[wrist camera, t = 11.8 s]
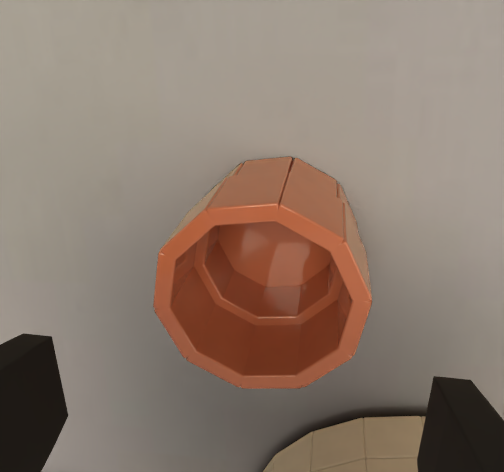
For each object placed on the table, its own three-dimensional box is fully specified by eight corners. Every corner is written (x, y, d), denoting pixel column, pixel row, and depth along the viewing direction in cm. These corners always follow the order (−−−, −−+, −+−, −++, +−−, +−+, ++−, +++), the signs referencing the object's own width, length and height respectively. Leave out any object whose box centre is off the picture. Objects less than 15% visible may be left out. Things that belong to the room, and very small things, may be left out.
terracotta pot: (244, 319, 17) (216, 411, 13) (171, 188, 16) (113, 248, 12) (384, 273, 16) (400, 362, 12) (319, 121, 14) (311, 164, 10)
